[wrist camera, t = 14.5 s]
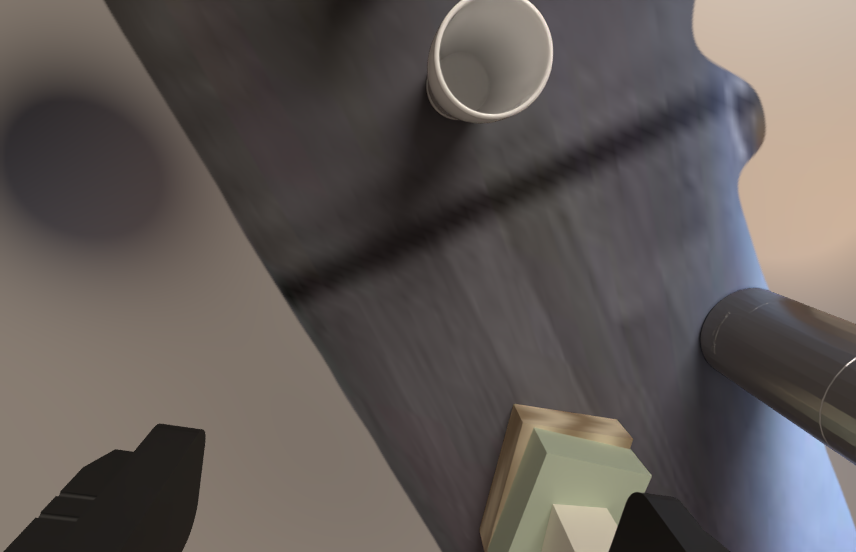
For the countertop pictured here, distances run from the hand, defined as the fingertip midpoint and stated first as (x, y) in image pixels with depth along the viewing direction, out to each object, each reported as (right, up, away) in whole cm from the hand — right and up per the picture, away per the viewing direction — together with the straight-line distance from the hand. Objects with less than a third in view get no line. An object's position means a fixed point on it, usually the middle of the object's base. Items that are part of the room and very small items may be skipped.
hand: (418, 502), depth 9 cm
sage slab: (+13, -18, +39) cm, 45 cm away
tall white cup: (+3, +20, +33) cm, 38 cm away
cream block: (+13, -18, +36) cm, 42 cm away
